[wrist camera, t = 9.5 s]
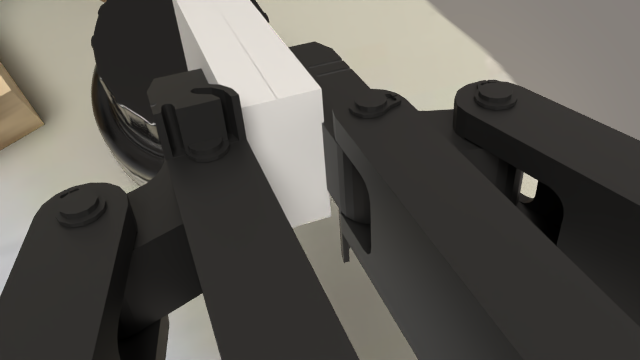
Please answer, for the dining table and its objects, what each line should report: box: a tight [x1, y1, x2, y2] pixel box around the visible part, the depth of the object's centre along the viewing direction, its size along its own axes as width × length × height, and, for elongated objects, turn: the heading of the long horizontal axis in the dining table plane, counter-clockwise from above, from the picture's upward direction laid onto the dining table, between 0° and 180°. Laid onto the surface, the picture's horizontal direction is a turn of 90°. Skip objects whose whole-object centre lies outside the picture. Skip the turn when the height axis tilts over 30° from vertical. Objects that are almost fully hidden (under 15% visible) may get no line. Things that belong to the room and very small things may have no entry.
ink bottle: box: [91, 0, 269, 186], centre depth 28 cm, size 10×9×12 cm
